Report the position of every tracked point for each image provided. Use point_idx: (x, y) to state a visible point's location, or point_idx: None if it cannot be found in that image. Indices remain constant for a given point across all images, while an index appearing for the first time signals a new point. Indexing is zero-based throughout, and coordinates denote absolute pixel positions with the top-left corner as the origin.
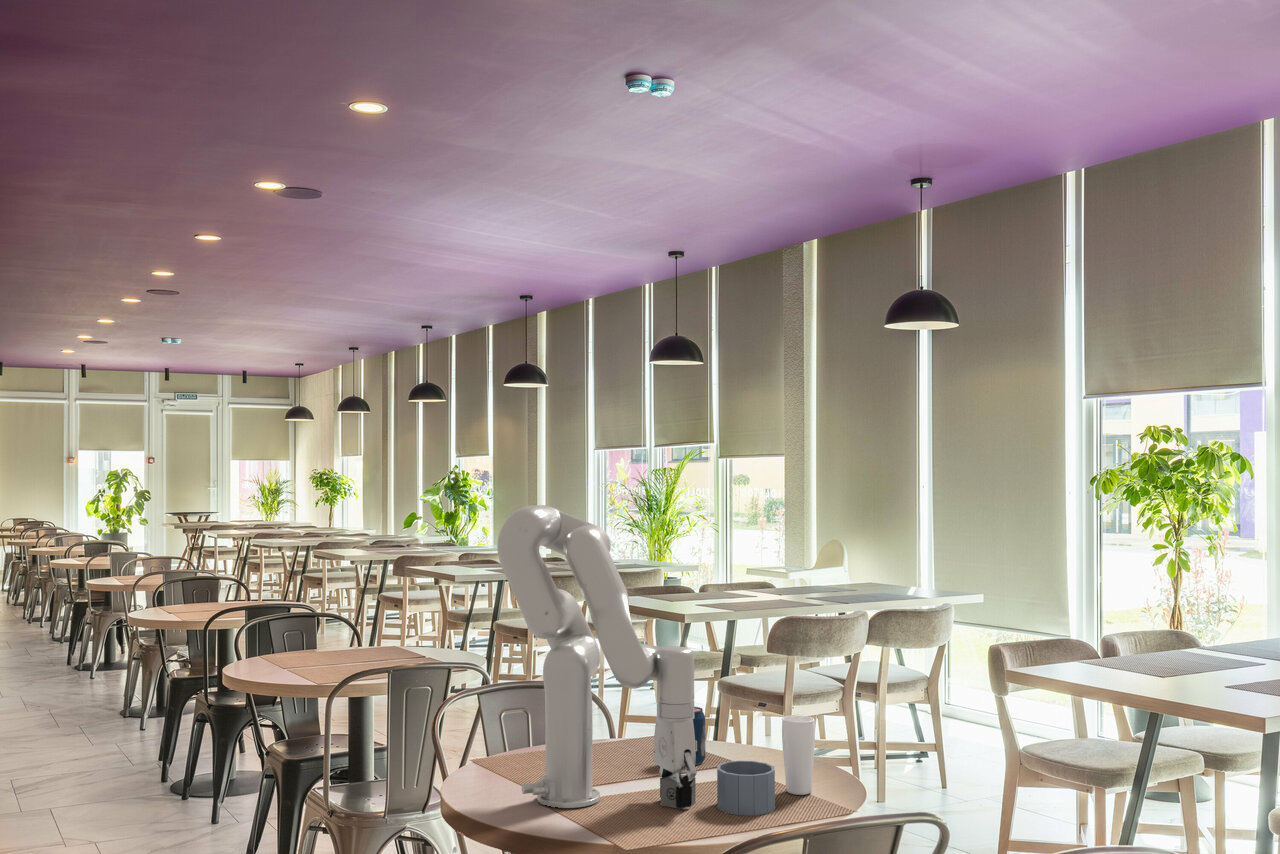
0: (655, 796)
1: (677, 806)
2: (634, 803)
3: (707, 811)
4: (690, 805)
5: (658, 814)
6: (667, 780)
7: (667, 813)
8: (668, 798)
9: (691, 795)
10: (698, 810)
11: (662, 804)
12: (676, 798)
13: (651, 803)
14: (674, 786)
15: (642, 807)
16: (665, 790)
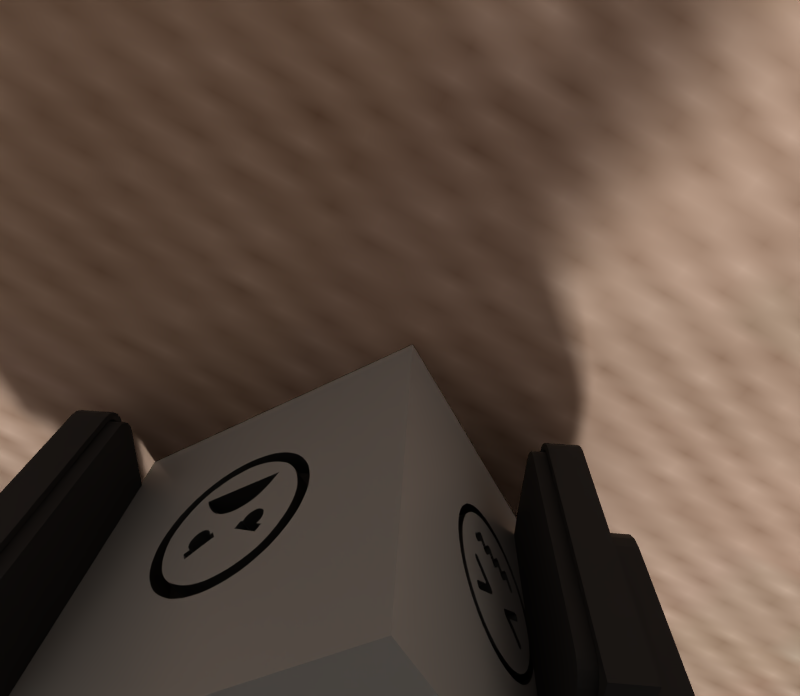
0: (765, 456)
1: (76, 419)
2: (706, 36)
3: None
4: None
5: (19, 103)
6: (230, 685)
7: (38, 240)
8: (294, 449)
9: None
10: None
11: (391, 359)
12: (28, 479)
13: (542, 274)
14: (137, 643)
15: (441, 51)
16: (322, 506)
